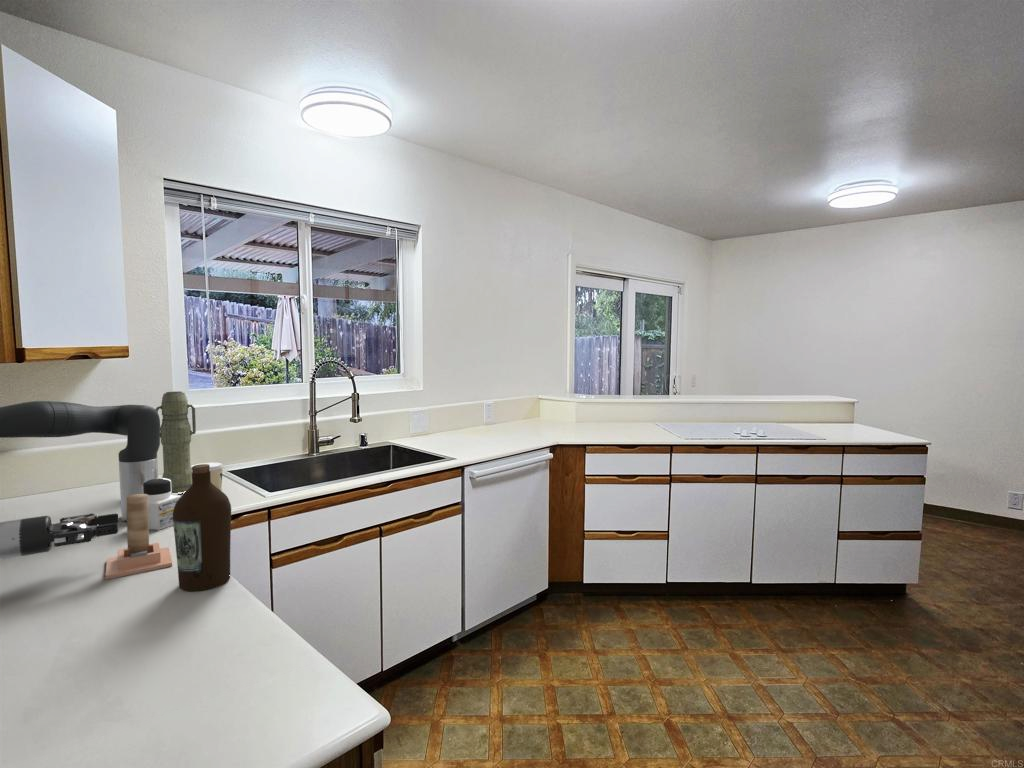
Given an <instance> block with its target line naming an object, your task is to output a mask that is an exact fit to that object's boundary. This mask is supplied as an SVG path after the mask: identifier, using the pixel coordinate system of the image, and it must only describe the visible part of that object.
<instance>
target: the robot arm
mask: <svg viewBox="0 0 1024 768" xmlns="http://www.w3.org/2000/svg"><path fill="white" fill-rule="evenodd" d="M155 409H156V408H154V407H152V406H149V405H143V404H122V405H107V406H106V405H105V406H91V405H86V404H81V403H76V402H75V403H74V402H70V401H69V402H66V401H53V400H51V401H49V400H48V401H47V400H36V401H27V402H21V403H14V404H10V405H5V406H1V407H0V438H2V439H4V438H7V439H9V438H10V439H11V438H12V439H14V438H15V439H16V438H64V437H72V436H78V435H85V434H92V433H99V434H112V435H120V436H125V437H126V436H127V437H126V438H127V439H126V440H127V442H126V446H125V448H123V449H121V450H120V451H118V471H119V472H118V473H119V491H120V495H119V496H120V498H119V499H120V514H121V515H120V516H121V519H122V520H121V521H123V520H126V521H125V522H127V500H126V497H127V496H130V495H135V494H144V493H143V484H144V482H146V481H148V480H151V479H157V478H159V469H158V452H159V450H160V449H159V448H160V446H161V438H160V427H161V420H160V415H159V411H158V412H157V411H156V410H155ZM118 525H119V513H110V514H102V515H97V514H94V513H88V514H81V515H74V516H68V517H61V518H60V519H59V522H56V523H52V518H51V516H50V515H42V516H41V515H40V516H34V517H33V516H32V517H26V518H20V519H14V520H13V519H12V520H11V519H10V520H6V521H1V522H0V560H5V559H13V558H18V557H24V556H30V555H36V554H37V555H38V554H42V553H47V552H49V551H51V550H52V546H53V547H55V548H58V547H63V546H71V545H77V544H78V545H79V544H81V543H82V544H84V543H89V542H92V540H94V539H96V538H98V537H104V536H109V535H110V536H111V535H116V534H118V533H119V526H118Z"/></svg>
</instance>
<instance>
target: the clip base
mask: <svg viewBox="0 0 1024 768" xmlns="http://www.w3.org/2000/svg"><path fill="white" fill-rule="evenodd" d="M169 547H170V546H166V547H162V548H161V547H160V543H159V541H158V542H154V543H149V553H147V551H144V552H138V553H133V554H131V556H130V557H128V547H125V548H121V549H117V554H116V556H112V557H107V558H106V564H105V565H106V566H105V580H110V579H109V578H111V579H115V578H114V577H116V578H120V576H121V577H126V576H131V575H135V574H139V573H145V572H149V571H155V570H159V569H164V568H165V569H166V568H169V566H170V567H173V560H172V556H171V552H170V548H169ZM125 575H126V576H125Z"/></svg>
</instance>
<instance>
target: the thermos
mask: <svg viewBox="0 0 1024 768" xmlns="http://www.w3.org/2000/svg"><path fill="white" fill-rule="evenodd" d="M162 395H163V396H162V397H161V402H160V403H161V404H160V405H159V406H157V407H156V408H154V409H155V410H156V411H157V412H158V413H159V410H161V416H162V419H161V424H160V445H162V460H163V464H162V465H163V474H162V477H161V478H166V479H170V480H171V488H172V493H178V492H184V491H187V490H188V489H189V488H190V487H191V485H192V483H191V473H190V468H191V447H190V445H191V444H190V443H191V442H192V436H193V435H195V434H196V430H197V428H196V425H197V424H196V408H195V407H194V406H193V404H189V403H188V402H189V401H188V398H187V396H186V393H185V392H183V391H166V392H164V393H163V394H162ZM189 408H191V418H192V419H191V421H192V422H191V423H192V424H190V422H189V417H188V414H189ZM191 425H192V430H191Z"/></svg>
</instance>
